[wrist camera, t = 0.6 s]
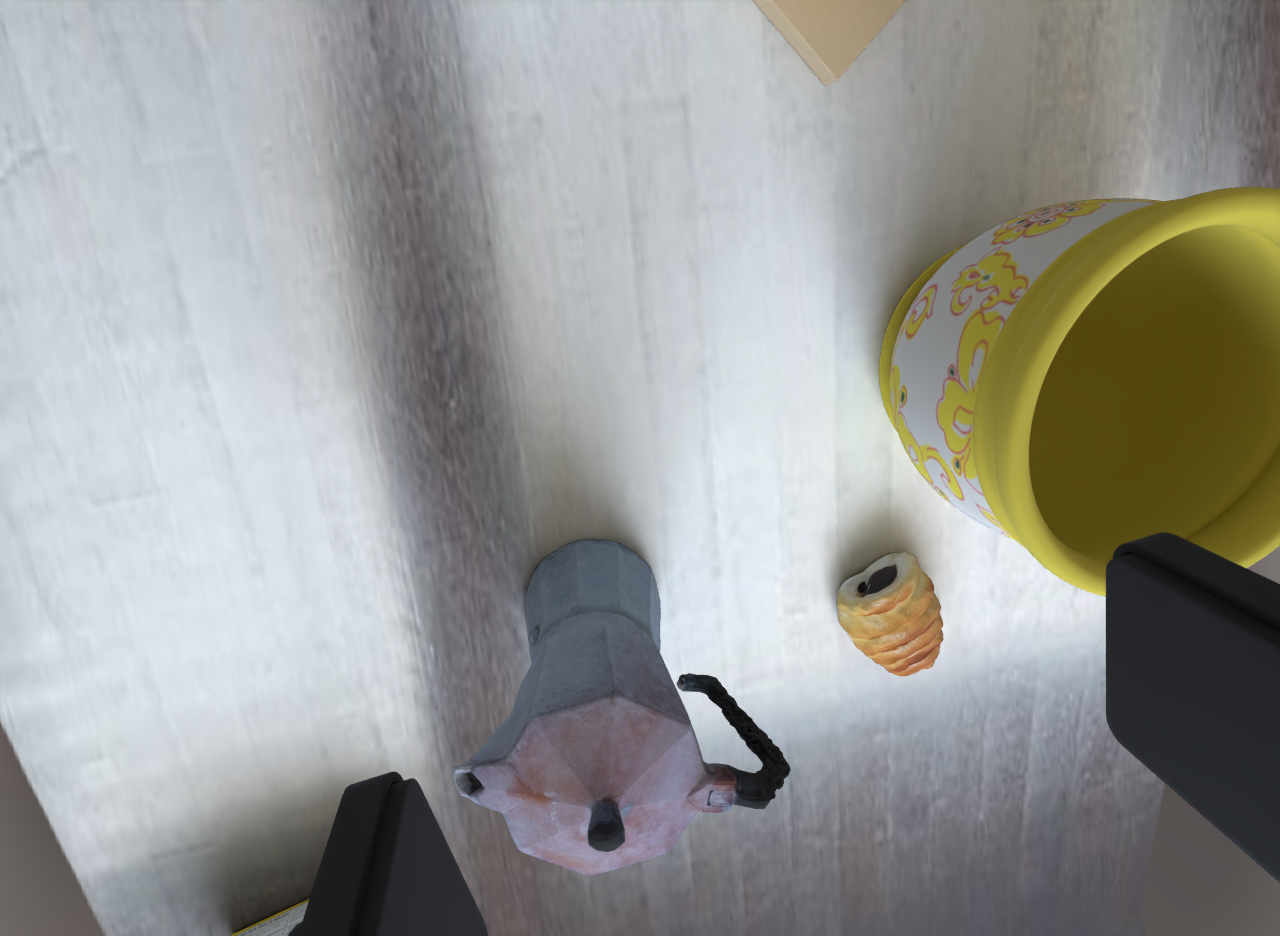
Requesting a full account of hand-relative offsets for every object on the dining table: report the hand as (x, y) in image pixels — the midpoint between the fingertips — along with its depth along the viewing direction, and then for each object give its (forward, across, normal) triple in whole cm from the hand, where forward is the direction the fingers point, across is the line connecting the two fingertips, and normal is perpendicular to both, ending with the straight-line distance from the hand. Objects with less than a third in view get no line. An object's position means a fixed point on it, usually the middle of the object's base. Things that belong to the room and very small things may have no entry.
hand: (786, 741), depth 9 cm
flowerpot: (+34, -24, +8) cm, 42 cm away
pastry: (+34, -16, +24) cm, 44 cm away
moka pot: (+34, +4, +16) cm, 38 cm away
